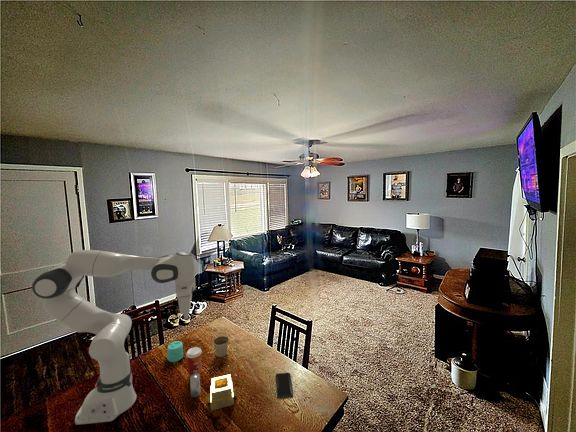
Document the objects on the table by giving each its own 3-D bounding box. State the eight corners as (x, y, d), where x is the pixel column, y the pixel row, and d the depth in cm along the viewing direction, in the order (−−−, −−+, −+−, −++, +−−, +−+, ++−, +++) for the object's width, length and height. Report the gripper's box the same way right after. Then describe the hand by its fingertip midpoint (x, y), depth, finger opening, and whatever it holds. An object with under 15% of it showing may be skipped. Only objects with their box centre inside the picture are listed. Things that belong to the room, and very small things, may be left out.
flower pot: (222, 347, 156) (222, 334, 155) (232, 352, 151) (232, 339, 150) (210, 355, 148) (209, 341, 148) (220, 361, 143) (219, 347, 142)
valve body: (207, 411, 110) (206, 394, 109) (207, 394, 120) (207, 378, 119) (237, 403, 114) (236, 387, 113) (235, 387, 123) (234, 372, 123)
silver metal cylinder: (190, 398, 117) (189, 380, 116) (191, 391, 121) (190, 374, 121) (200, 396, 119) (199, 378, 118) (200, 389, 123) (200, 372, 122)
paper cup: (197, 382, 127) (196, 356, 126) (184, 379, 129) (182, 354, 128) (205, 371, 135) (204, 347, 134) (193, 369, 137) (191, 345, 135)
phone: (290, 372, 132) (293, 395, 117) (290, 374, 132) (293, 397, 118) (275, 373, 132) (276, 396, 117) (275, 375, 132) (276, 399, 117)
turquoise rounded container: (183, 360, 145) (182, 347, 144) (167, 363, 141) (167, 350, 141) (183, 352, 152) (182, 339, 151) (168, 355, 149) (167, 342, 148)
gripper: (180, 279, 127) (182, 305, 128) (175, 295, 107) (177, 325, 108) (194, 277, 128) (195, 303, 130) (191, 293, 109) (192, 323, 110)
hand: (187, 313), depth 119 cm, fingers open, 8 cm apart
